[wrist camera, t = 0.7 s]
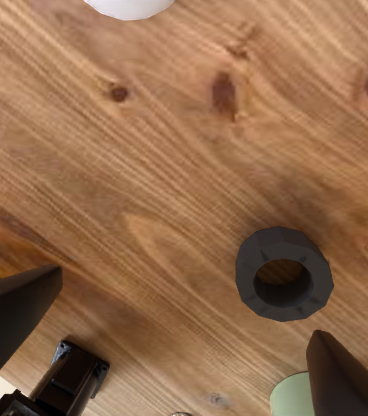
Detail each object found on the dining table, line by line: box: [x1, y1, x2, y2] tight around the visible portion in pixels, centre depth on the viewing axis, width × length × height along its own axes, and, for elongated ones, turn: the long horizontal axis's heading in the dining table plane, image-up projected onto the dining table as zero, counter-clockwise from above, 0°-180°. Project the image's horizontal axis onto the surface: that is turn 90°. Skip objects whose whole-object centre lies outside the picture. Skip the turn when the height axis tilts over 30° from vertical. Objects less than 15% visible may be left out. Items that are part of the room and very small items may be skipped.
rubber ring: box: [235, 226, 334, 322], centre depth 21 cm, size 7×7×3 cm
